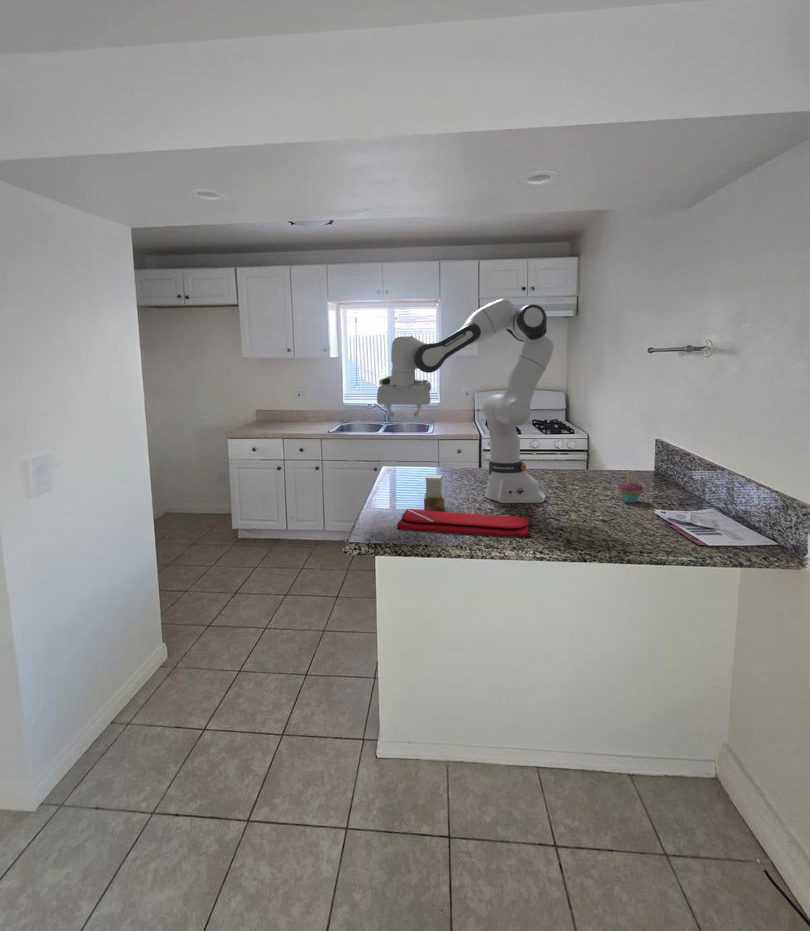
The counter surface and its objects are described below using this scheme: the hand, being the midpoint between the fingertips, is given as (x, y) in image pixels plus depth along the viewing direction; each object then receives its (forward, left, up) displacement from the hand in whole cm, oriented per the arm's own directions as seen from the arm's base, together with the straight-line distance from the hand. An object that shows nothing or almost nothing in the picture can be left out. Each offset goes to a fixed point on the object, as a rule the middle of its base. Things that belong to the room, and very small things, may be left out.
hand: (403, 416), depth 211 cm
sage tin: (-14, +16, -26) cm, 34 cm away
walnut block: (-14, +16, -31) cm, 38 cm away
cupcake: (-84, -5, -31) cm, 90 cm away
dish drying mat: (-26, +34, -32) cm, 53 cm away
